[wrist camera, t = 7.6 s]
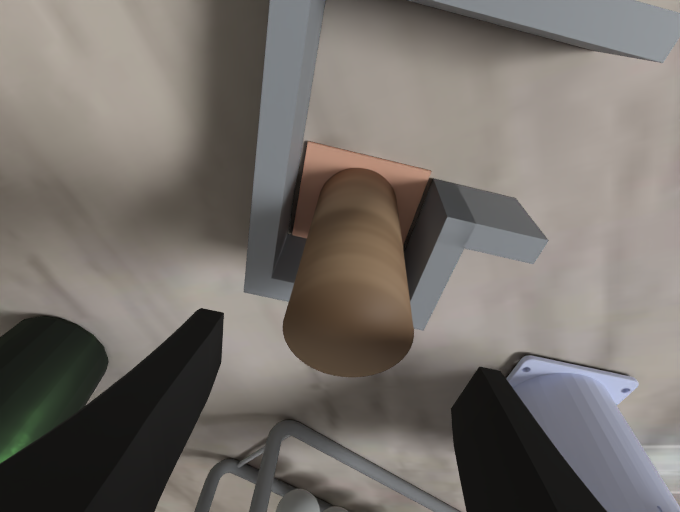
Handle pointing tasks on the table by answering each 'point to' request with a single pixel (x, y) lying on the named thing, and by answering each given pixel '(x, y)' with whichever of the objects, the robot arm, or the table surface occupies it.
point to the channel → (407, 181)
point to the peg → (352, 281)
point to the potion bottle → (44, 378)
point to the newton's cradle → (298, 504)
